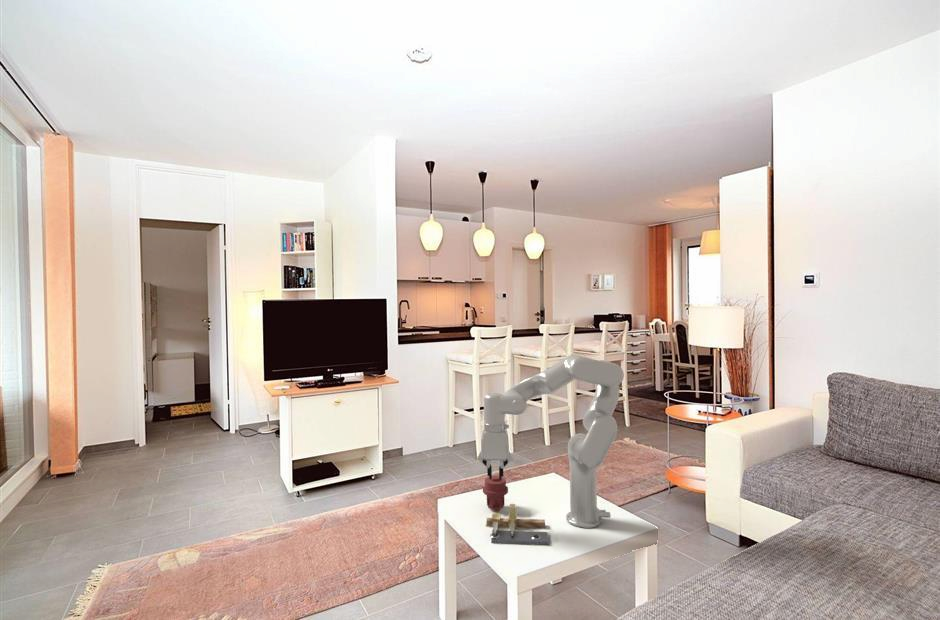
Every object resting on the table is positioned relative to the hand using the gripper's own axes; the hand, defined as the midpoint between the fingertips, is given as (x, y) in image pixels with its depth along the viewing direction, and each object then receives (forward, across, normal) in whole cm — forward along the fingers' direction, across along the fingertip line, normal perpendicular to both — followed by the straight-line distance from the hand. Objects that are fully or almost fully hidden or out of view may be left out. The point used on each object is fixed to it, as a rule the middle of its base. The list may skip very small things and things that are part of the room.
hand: (495, 477), depth 166 cm
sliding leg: (+17, -6, +4) cm, 19 cm away
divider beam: (+17, -7, +4) cm, 19 cm away
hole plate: (+17, -8, +10) cm, 21 cm away
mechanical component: (+17, +1, -14) cm, 22 cm away
